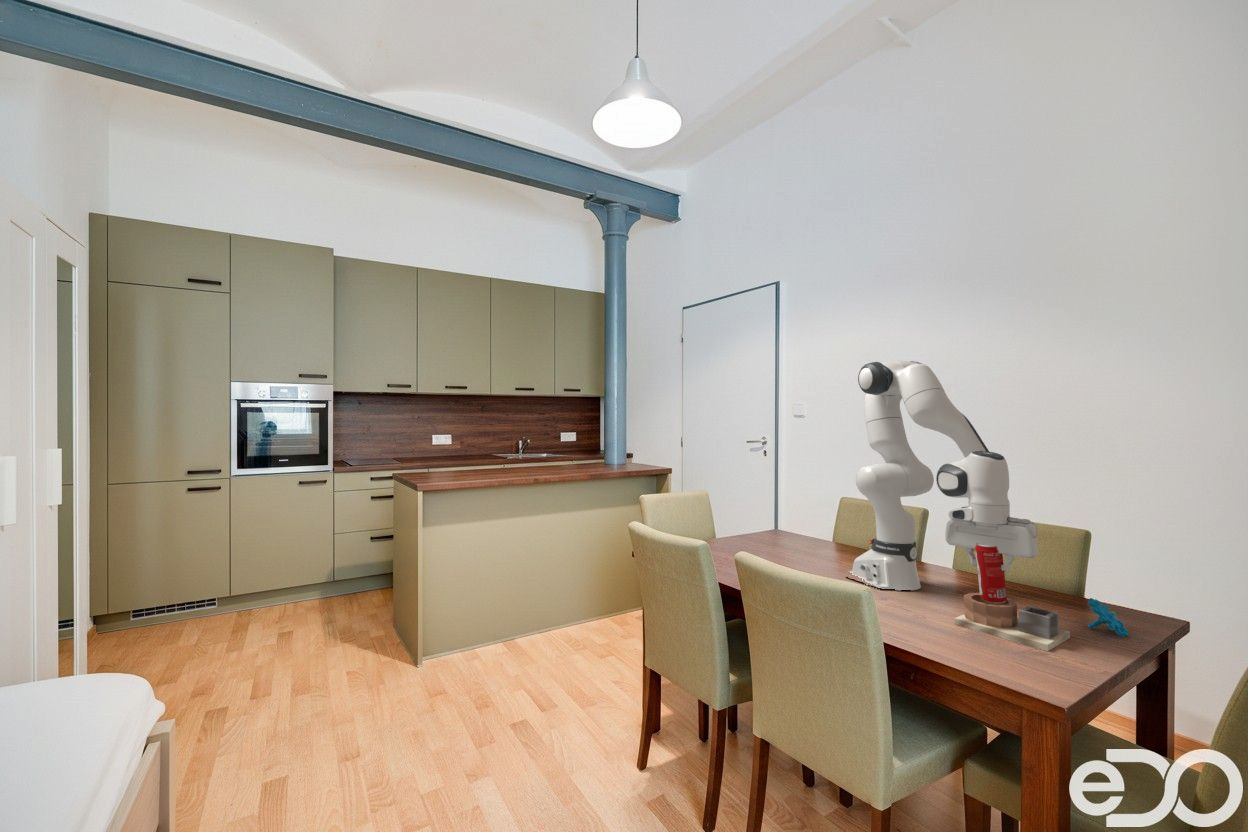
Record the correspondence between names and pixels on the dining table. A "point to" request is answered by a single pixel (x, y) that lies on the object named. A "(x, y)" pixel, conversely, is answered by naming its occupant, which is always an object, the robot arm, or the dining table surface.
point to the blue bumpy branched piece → (1106, 618)
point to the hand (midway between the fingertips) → (989, 568)
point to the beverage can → (990, 574)
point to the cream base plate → (1013, 622)
